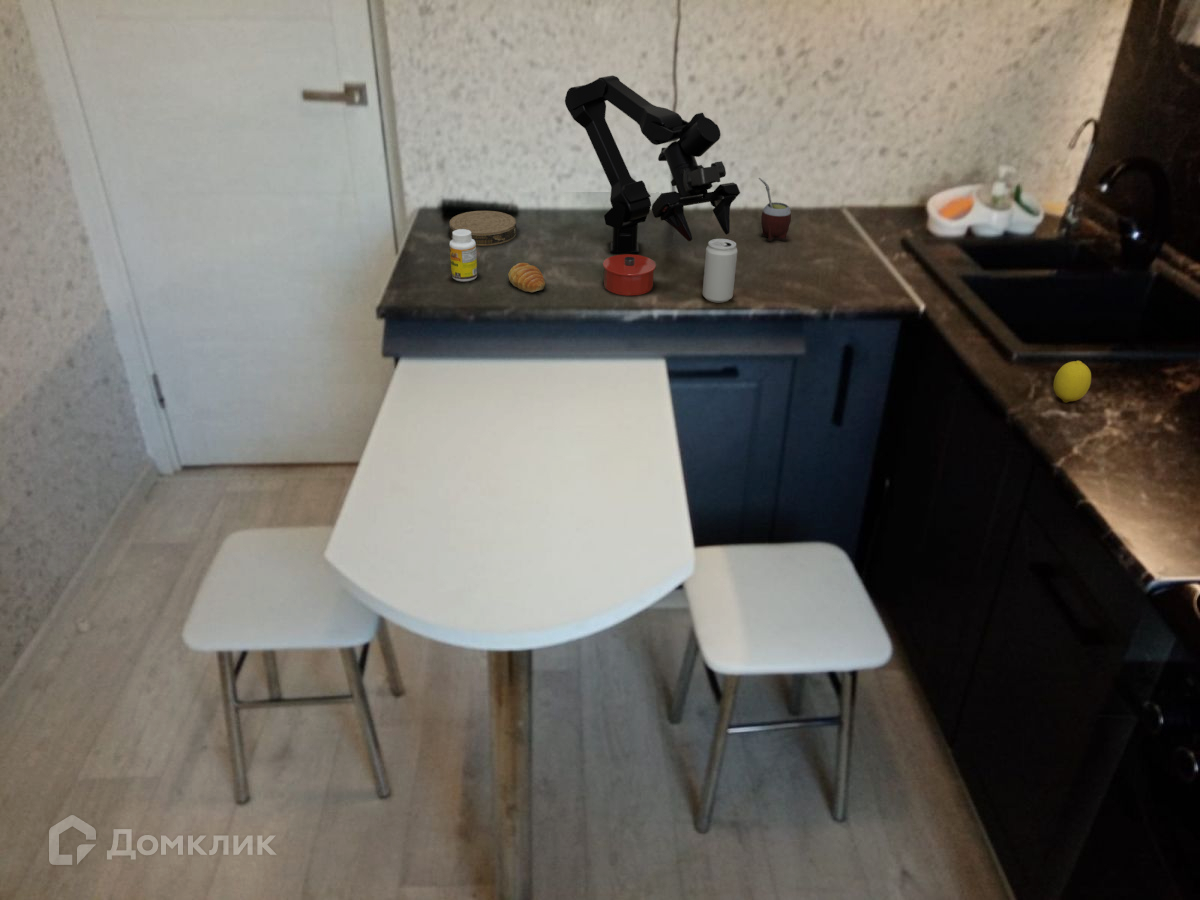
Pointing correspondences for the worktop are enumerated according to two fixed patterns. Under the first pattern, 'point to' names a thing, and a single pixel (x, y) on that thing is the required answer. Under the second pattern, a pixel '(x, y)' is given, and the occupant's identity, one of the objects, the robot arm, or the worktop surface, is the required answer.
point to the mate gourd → (775, 219)
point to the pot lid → (629, 265)
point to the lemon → (1072, 381)
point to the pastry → (526, 277)
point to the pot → (628, 283)
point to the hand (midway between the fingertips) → (709, 236)
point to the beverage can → (719, 270)
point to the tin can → (485, 226)
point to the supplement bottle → (463, 256)
